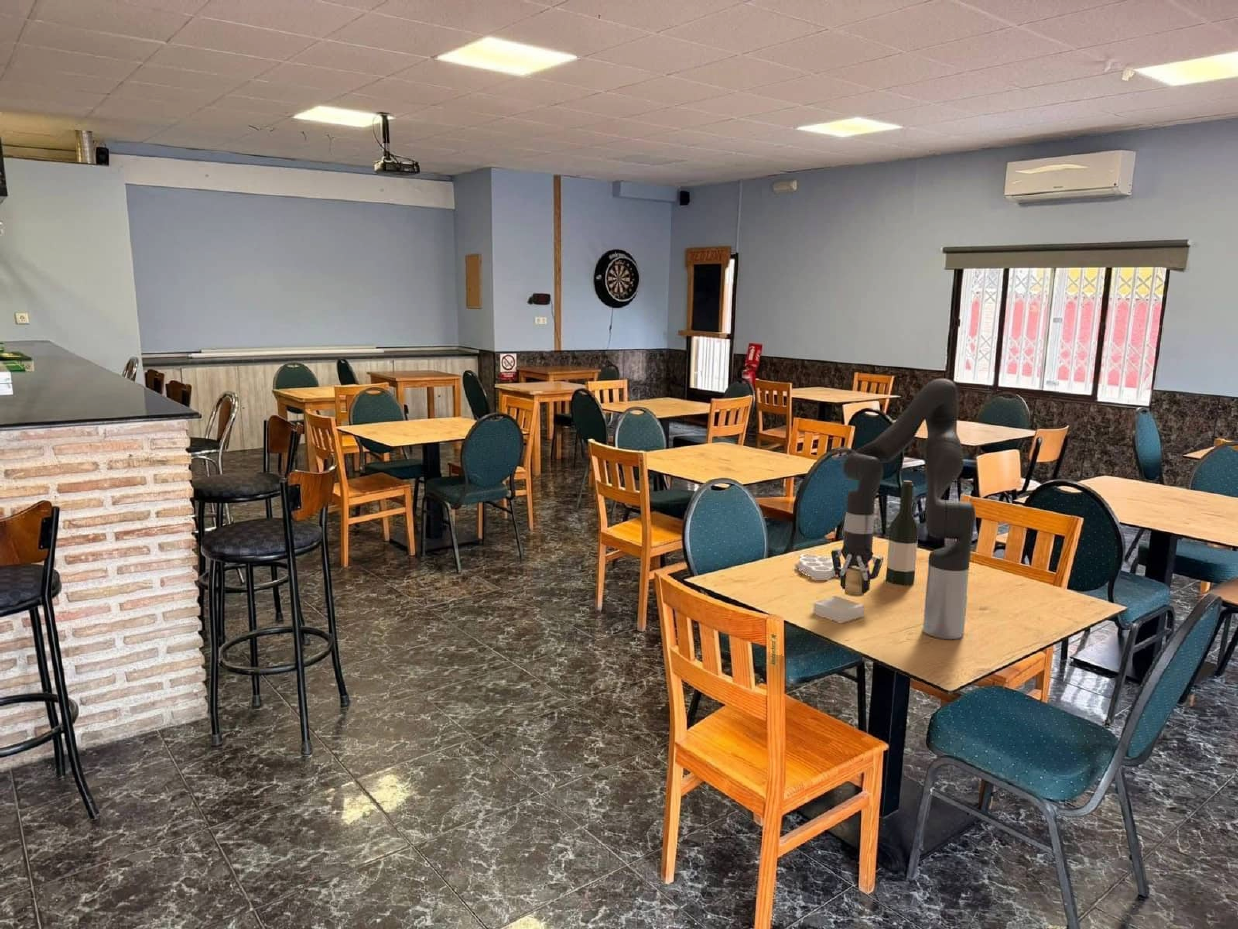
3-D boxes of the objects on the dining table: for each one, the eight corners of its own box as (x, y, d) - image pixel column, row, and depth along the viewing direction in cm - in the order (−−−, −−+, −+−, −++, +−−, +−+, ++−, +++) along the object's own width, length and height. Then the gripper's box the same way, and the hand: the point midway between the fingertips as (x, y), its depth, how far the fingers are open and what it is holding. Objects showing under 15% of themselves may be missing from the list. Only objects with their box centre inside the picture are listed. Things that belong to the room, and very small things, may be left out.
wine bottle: (919, 586, 240) (927, 484, 235) (890, 585, 240) (897, 483, 235) (909, 576, 248) (917, 478, 243) (881, 576, 248) (888, 478, 243)
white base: (834, 606, 222) (835, 595, 222) (863, 616, 215) (864, 605, 215) (813, 613, 217) (813, 602, 216) (841, 623, 210) (842, 612, 209)
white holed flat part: (852, 582, 244) (803, 582, 243) (834, 564, 262) (788, 564, 261) (853, 571, 244) (804, 571, 243) (834, 553, 261) (788, 553, 261)
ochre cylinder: (852, 589, 227) (853, 564, 226) (867, 594, 223) (869, 569, 222) (840, 593, 224) (842, 568, 223) (856, 597, 220) (858, 572, 219)
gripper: (890, 530, 220) (885, 592, 223) (838, 522, 228) (834, 582, 231) (880, 536, 214) (875, 599, 217) (827, 527, 222) (823, 588, 225)
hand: (854, 590), depth 224 cm, fingers closed on ochre cylinder, 5 cm apart
